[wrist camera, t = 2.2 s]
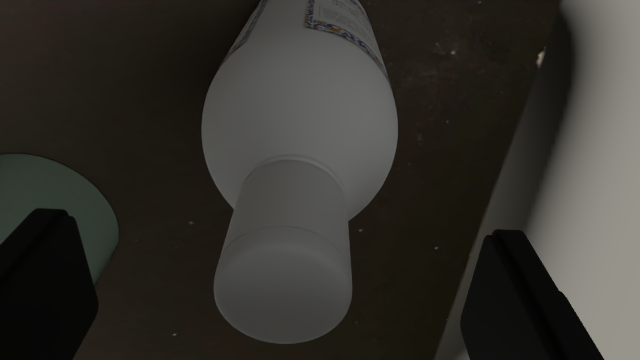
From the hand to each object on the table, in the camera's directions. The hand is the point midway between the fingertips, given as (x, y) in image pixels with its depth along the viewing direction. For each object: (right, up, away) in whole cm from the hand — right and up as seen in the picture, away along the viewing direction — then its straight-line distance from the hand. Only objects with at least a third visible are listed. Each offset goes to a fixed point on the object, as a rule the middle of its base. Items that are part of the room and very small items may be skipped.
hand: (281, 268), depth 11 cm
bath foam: (0, +10, +16) cm, 19 cm away
